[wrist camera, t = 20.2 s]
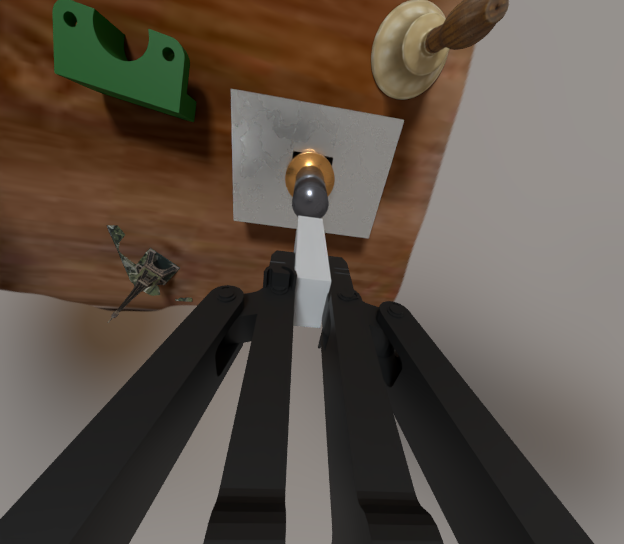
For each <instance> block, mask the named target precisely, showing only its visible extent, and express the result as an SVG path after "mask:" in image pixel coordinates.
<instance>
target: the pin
mask: <svg viewBox="0 0 624 544" xmlns="http://www.w3.org/2000/svg"><path fill="white" fill-rule="evenodd" d="M334 182H335V176H334V171H333V168H332V166H331V164H330V162H329V160H328V159H327V158H326V157H325V156H323V155H322V154H320V153H318V152H314V151H305V152H302V153H300V154H298V155H296V156H295V157H294V158H293V159H292V160H291V161H290V163H289V165H288V167H287V170H286V175H285V183H286V187H287V190H288V192H289V193H290V195H291V196H292V197H293V199H292V208H293V211H294V213H295V214H296V215H297V217H298V216H306V217H313V218H320V219H321V218H322V217H323V216H324V215H325V214H326V212H327V210H328V206H329V201H328V196H329V195H330V193H331V191H332V189H333V187H334Z"/></svg>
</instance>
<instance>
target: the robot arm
mask: <svg viewBox="0 0 624 544" xmlns="http://www.w3.org/2000/svg"><path fill="white" fill-rule="evenodd" d="M321 323H322V327H323V328H322V333H321V337H320V341H319V345H318V348H320V347H321V352H322V368H323V384H324V401H325V417H326V432H327V447H328V465H329V481H330V482H329V483H330V499H331V515H332V544H443V540H442V538H441V535H440V533H439V530H438V527H437V525H436V523H435V522H434V520H433V518H432V516H431V515H430V514H429V513H428V512H427V511H426V510H425V509H423V507H422V506H421V505H420V503H419V502H418V500H417V497H416V494H415V491H414V487H413V484H412V480H411V476H410V473H409V469H408V465H407V462H406V458H405V455H404V451H403V447H402V444H401V440H400V437H399V433H398V430H397V426H396V422H395V419H394V415H395V418H396V420H397V422H398V423H399V426H400V427H401V430H402V431H403V434H404V436H405V438H406V440H407V441H408V443H409V446H410V447H411V449H412V452H413V453H414V455H415V458H416V460H417V462H418V464H419V466H420V468H421V469H422V472H423V474H424V476H425V477H426V480H427V482H428V484H429V485H430V487H431V490H432V492H433V494H434V495H435V498H436V500H437V502H438V504H439V505H440V508H441V509H442V512H443V513H444V516H445V517H446V520H447V522H448V523H449V525H450V527H451V529H452V531H453V533H454V535H455V537H456V539H457V541H458V543H459V544H594V543H593V542H592V540H591V539H590V538H589V537H588V535H587V534H586V533H585V532H584V530H583V529H582V528H581V527H580V525H579V524H578V523H577V522H576V520H575V519H574V518H573V517H572V515H571V514H570V513H569V511H568V510H567V509H566V508H565V507H564V505H563V504H562V503H561V501H560V500H559V499H558V498H557V496H556V495H555V494H554V493H553V491H552V490H551V489H550V488H549V486H548V485H547V484H546V483H545V481H544V480H543V479H542V478H541V476H540V475H539V474H538V473H537V471H536V470H535V469H534V467H533V466H532V465H531V464H530V462H529V461H528V460H527V459H526V457H525V456H524V455H523V454H522V453H521V451H520V450H519V449H518V447H517V446H516V445H515V444H514V442H513V441H512V440H511V439H510V437H509V436H508V435H507V434H506V433H505V431H504V430H503V429H502V427H501V426H500V425H499V424H498V422H497V421H496V420H495V418H494V417H493V416H492V415H491V413H490V412H489V411H488V410H487V408H486V407H485V406H484V405H483V403H482V402H481V401H480V400H479V398H478V397H477V396H476V395H475V393H474V392H473V391H472V390H471V389H470V387H469V386H468V384H467V383H466V382H465V381H464V380H463V378H462V377H461V376H460V375H459V373H458V372H457V371H456V369H455V368H454V367H453V366H452V364H451V363H450V362H449V361H448V359H447V358H446V357H445V356H444V355H443V353H442V352H441V351H440V350H439V348H438V347H437V346H436V344H435V343H434V342H433V340H432V339H431V338H430V337H429V335H428V334H427V333H426V332H425V330H424V329H423V328H422V327H421V325H420V324H419V323H418V322H417V320H416V319H415V318H414V317H413V315H412V314H411V313H410V312H409V310H408V309H406V308H405V307H404V306H402V305H401V304H398V303H395V302H391V301H386V302H383V303H382V304H381V305H380V306H379V307H376V306H373V305H370V304H367V303H365V302H363V301H362V299H361V297H360V295H359V293H357V292H356V291H355V290H354V289H353V285H352V281H351V277H350V273H349V270H348V265H347V263H346V261H345V260H344V259H343V258H341V257H333V256H328V254H327V247H326V240H325V233H324V226H323V219H320V218H313V217H306V216H298V223H297V230H296V238H295V246H294V253H293V252H285V251H276V252H275V253H273V254H272V256H271V261H270V266H269V267H267V268H266V269H265V271H264V281H263V288H262V289H261V290H259V291H256V292H253V293H246V294H243V291H242V290H241V289H240V288H237V287H235V286H229V285H227V286H220V287H217V288H215V289H213V290H212V291H211V292H210V293H209V294H208V295H207V296H206V297H205V298H204V299H203V300H202V301H201V302H200V304H199V305H198V306H197V307H196V308H195V309H194V310H193V311H192V312H191V313H190V315H189V316H188V317H187V318H186V319H185V320H184V321H183V322H182V323H181V324H180V325H179V326H178V327H177V328H176V330H175V331H174V332H173V333H172V334H171V335H170V336H169V337H168V338H167V339H166V340H165V341H164V343H163V344H162V345H161V346H160V347H159V348H158V349H157V350H156V351H155V352H154V353H153V354H152V355H151V357H150V358H149V359H148V360H147V361H146V362H145V363H144V364H143V365H142V366H141V367H140V369H139V370H138V371H137V372H136V373H135V374H134V375H133V376H132V377H131V378H130V379H129V380H128V382H127V383H126V384H125V385H124V386H123V387H122V388H121V389H120V390H119V391H118V392H117V394H116V395H115V396H114V397H113V398H112V399H111V400H110V401H109V402H108V403H107V404H106V405H105V406H104V407H103V409H102V410H101V411H100V412H99V413H98V414H97V415H96V416H95V417H94V418H93V419H92V420H91V422H90V423H89V424H88V425H87V426H86V427H85V428H84V429H83V430H82V431H81V432H80V434H79V435H78V436H77V437H76V438H75V439H74V440H73V441H72V442H71V443H70V444H69V445H68V447H67V448H66V449H65V450H64V451H63V452H62V453H61V454H60V455H59V456H58V457H57V458H56V459H55V461H54V462H53V463H52V464H51V465H50V466H49V467H48V468H47V469H46V470H45V471H44V472H43V474H42V475H41V476H40V477H39V478H38V479H37V480H36V481H35V482H34V483H33V484H32V486H31V487H30V488H29V489H28V490H27V491H26V492H25V493H24V494H23V495H22V496H21V497H20V499H19V500H18V501H17V502H16V503H15V504H14V505H13V506H12V507H11V508H10V509H9V510H8V512H7V513H6V514H5V515H4V516H3V517H2V518H1V519H0V544H129V543H130V541H131V539H132V537H133V536H134V534H135V532H136V530H137V529H138V527H139V525H140V523H141V522H142V520H143V518H144V517H145V515H146V513H147V511H148V510H149V508H150V506H151V504H152V502H153V501H154V499H155V497H156V496H157V494H158V492H159V490H160V489H161V487H162V485H163V483H164V482H165V480H166V478H167V476H168V475H169V473H170V471H171V469H172V468H173V466H174V464H175V463H176V461H177V459H178V457H179V455H180V453H181V452H182V450H183V448H184V447H185V445H186V443H187V442H188V440H189V438H190V436H191V435H192V433H193V431H194V429H195V428H196V426H197V424H198V422H199V420H200V419H201V417H202V415H203V414H204V412H205V410H206V409H207V407H208V405H209V403H210V402H211V400H212V398H213V396H214V394H215V393H216V391H217V389H218V388H219V386H220V384H221V382H222V381H223V379H224V377H225V375H226V374H227V372H228V370H229V368H230V366H231V365H232V363H233V361H234V360H235V358H236V356H237V355H238V353H239V351H240V349H241V348H242V346H243V343H244V342H249V341H252V342H251V346H250V351H249V356H248V360H247V365H246V369H245V374H244V379H243V383H242V388H241V393H240V397H239V402H238V407H237V411H236V415H235V420H234V425H233V429H232V434H231V439H230V443H229V448H228V452H227V457H226V462H225V466H224V471H223V476H222V480H221V485H220V489H219V494H218V497H217V501H216V503H215V506H214V508H213V510H212V513H211V516H210V520H209V523H208V527H207V531H206V535H205V539H204V543H203V544H285V535H286V508H285V486H286V465H287V445H288V423H289V403H290V383H291V362H292V341H293V326H303V327H314V328H320V327H321ZM393 414H394V415H393Z"/></svg>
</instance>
